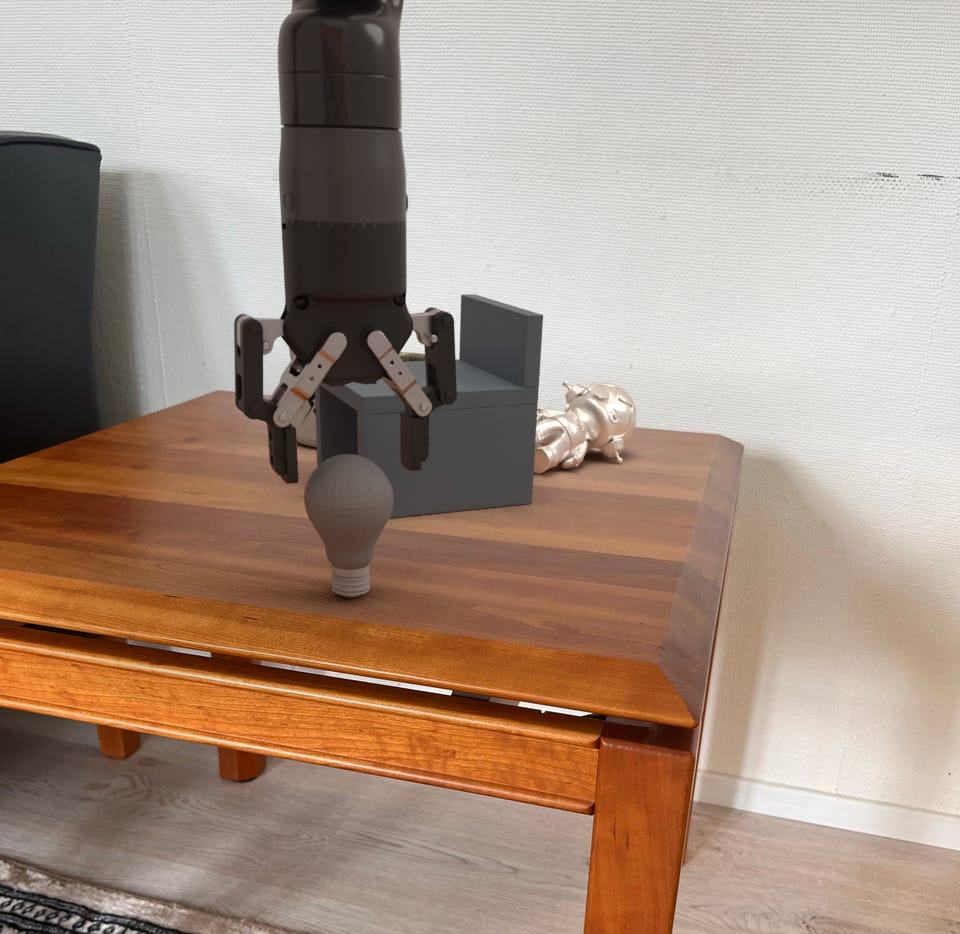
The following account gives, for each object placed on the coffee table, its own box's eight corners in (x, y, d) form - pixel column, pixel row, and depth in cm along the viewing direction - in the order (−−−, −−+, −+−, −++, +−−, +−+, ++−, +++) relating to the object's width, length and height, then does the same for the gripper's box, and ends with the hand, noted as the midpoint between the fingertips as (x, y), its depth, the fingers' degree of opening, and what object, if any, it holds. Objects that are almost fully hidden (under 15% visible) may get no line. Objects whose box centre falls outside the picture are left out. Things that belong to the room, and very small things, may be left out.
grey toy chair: (363, 521, 86) (361, 319, 79) (317, 476, 98) (311, 296, 91) (531, 503, 93) (543, 315, 86) (469, 463, 104) (475, 294, 97)
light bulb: (389, 577, 75) (389, 443, 71) (397, 610, 70) (397, 467, 65) (307, 580, 74) (301, 444, 70) (308, 613, 69) (303, 468, 64)
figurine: (514, 389, 99) (614, 346, 107) (482, 430, 105) (579, 386, 113) (576, 478, 98) (672, 427, 106) (540, 514, 104) (634, 463, 112)
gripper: (429, 210, 67) (428, 451, 74) (211, 208, 62) (232, 469, 69) (477, 217, 61) (470, 479, 68) (239, 216, 56) (259, 501, 63)
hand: (351, 474), depth 68 cm, fingers open, 8 cm apart
